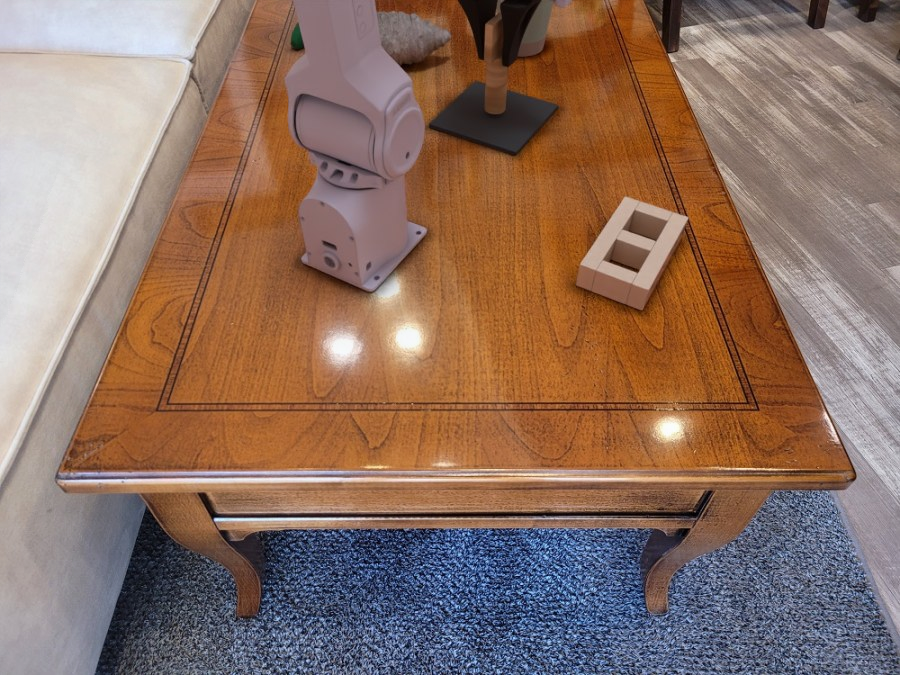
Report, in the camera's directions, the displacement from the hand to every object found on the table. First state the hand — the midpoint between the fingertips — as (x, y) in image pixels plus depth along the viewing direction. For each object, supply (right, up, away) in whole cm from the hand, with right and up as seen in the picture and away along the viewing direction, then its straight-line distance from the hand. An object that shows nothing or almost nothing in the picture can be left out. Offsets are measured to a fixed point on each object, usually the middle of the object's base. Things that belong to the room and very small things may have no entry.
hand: (497, 59), depth 72 cm
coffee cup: (+4, +8, +17) cm, 19 cm away
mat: (0, -5, +5) cm, 7 cm away
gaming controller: (-21, +9, +17) cm, 28 cm away
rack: (+11, -23, -10) cm, 28 cm away
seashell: (-12, +5, +14) cm, 19 cm away
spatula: (0, -4, +4) cm, 6 cm away
